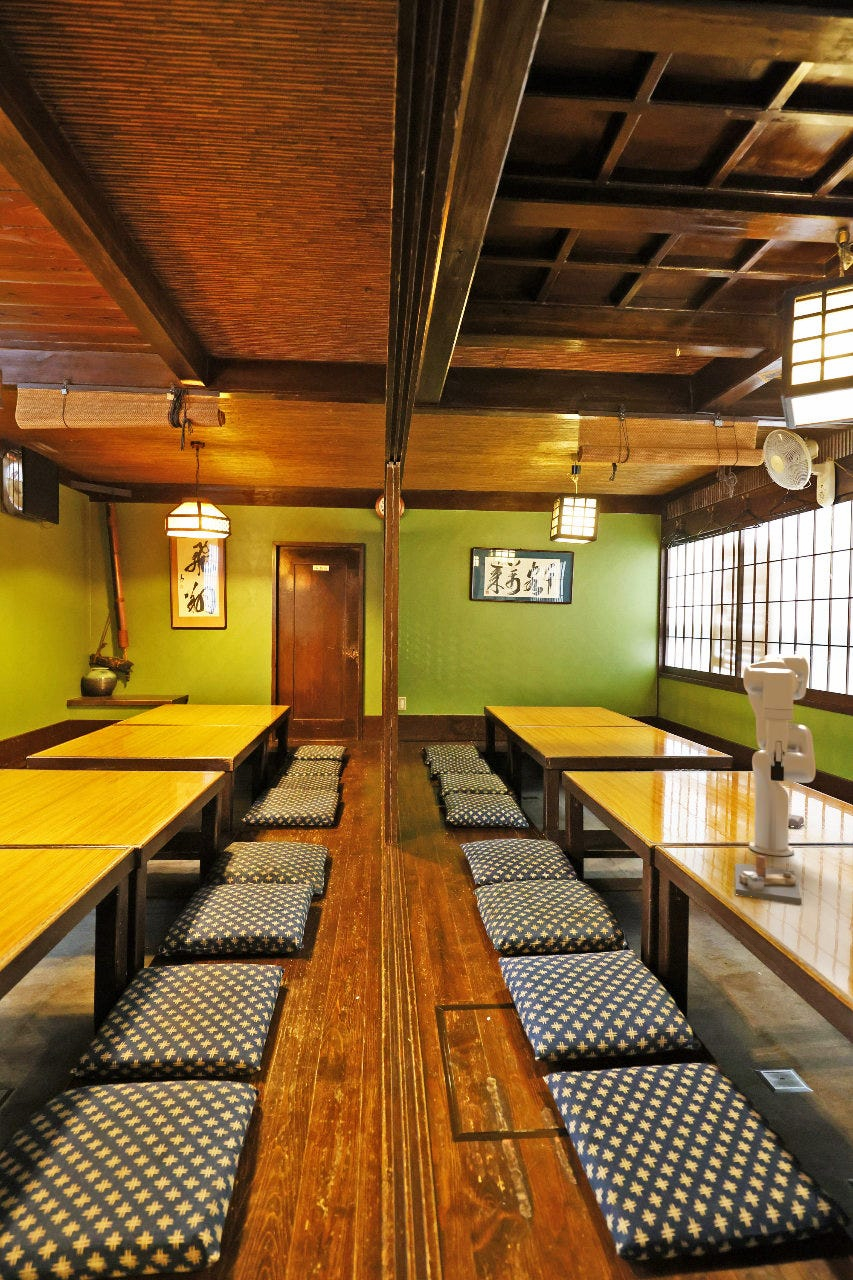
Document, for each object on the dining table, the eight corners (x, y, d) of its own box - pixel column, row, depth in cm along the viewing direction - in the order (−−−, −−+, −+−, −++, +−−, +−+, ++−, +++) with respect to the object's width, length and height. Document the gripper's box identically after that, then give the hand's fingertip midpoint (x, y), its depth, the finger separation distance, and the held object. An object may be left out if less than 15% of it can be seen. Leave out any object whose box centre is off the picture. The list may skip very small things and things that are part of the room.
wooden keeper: (753, 883, 180) (753, 871, 180) (763, 890, 175) (763, 877, 175) (742, 883, 180) (742, 871, 180) (752, 890, 175) (752, 878, 175)
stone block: (770, 822, 252) (762, 822, 245) (772, 809, 253) (763, 808, 246) (806, 830, 244) (797, 830, 237) (807, 817, 244) (799, 816, 237)
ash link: (790, 879, 182) (790, 854, 182) (798, 885, 178) (798, 859, 178) (738, 879, 182) (738, 854, 182) (745, 884, 178) (745, 859, 178)
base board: (735, 868, 196) (735, 863, 196) (793, 876, 190) (793, 870, 190) (735, 894, 176) (735, 889, 176) (801, 904, 170) (801, 898, 170)
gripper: (761, 711, 197) (761, 774, 197) (764, 716, 184) (763, 784, 184) (790, 712, 194) (790, 776, 194) (795, 718, 181) (794, 787, 181)
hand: (777, 780), depth 189 cm, fingers closed
